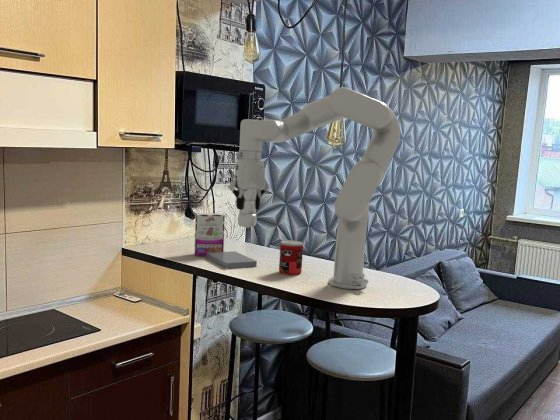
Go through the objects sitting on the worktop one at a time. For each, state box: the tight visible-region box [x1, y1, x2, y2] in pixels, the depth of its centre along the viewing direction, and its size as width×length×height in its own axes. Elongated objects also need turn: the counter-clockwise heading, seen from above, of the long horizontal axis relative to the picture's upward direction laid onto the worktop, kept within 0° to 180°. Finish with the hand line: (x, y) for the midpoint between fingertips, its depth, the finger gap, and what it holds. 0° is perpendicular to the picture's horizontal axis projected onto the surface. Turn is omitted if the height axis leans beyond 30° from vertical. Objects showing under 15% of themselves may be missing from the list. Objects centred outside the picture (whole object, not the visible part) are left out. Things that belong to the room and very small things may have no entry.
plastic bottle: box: [237, 182, 258, 229], centre depth 186 cm, size 6×7×20 cm
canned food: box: [278, 239, 304, 276], centre depth 192 cm, size 8×8×11 cm
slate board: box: [206, 250, 258, 270], centre depth 203 cm, size 18×12×2 cm, turn 31°
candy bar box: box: [194, 212, 225, 257], centre depth 213 cm, size 11×5×16 cm, turn 104°
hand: (247, 208), depth 187 cm, fingers closed on plastic bottle, 5 cm apart
